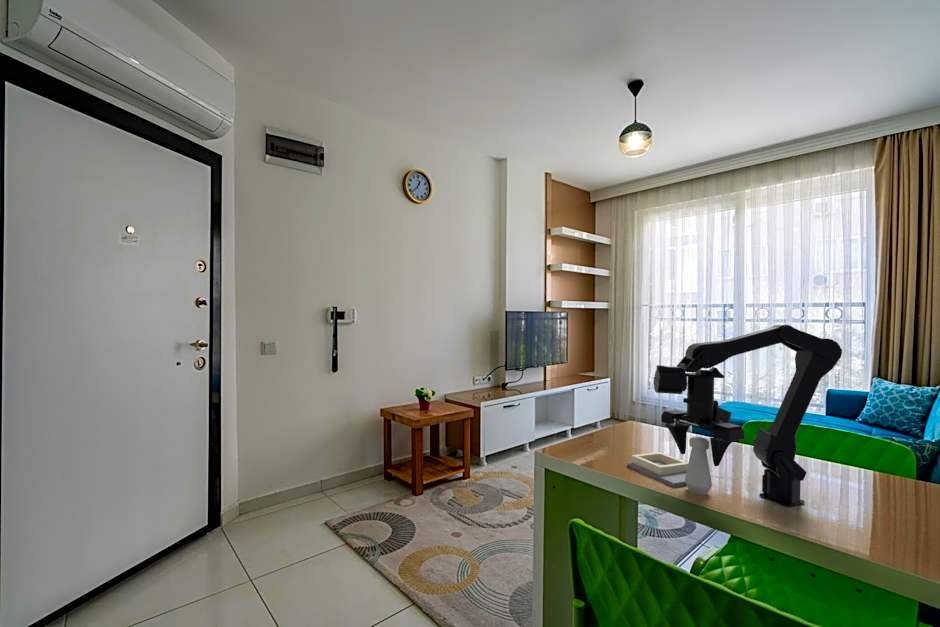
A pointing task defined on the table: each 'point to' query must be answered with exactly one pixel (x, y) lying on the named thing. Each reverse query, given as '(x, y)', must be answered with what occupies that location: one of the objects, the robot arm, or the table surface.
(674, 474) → the build board
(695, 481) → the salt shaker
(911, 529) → the table surface
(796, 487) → the robot arm
